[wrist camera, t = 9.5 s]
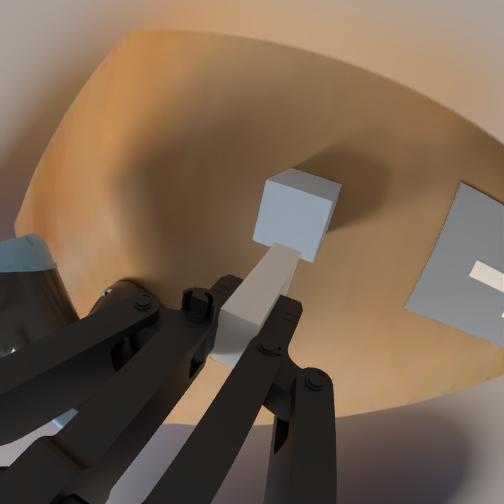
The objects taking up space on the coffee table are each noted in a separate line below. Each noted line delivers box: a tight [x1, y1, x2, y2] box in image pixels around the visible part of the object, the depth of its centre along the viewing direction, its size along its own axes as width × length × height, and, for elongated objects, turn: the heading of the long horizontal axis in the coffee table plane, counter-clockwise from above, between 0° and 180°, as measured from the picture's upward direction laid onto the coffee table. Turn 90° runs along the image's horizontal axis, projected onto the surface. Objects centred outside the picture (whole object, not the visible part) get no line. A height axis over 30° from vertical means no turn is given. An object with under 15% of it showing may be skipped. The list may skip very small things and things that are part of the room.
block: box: [252, 168, 342, 263], centre depth 24 cm, size 5×5×7 cm
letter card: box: [404, 182, 504, 347], centre depth 22 cm, size 18×14×1 cm
